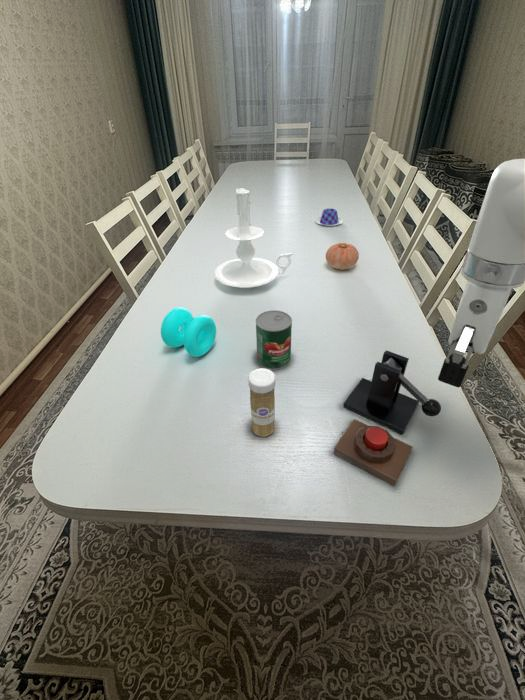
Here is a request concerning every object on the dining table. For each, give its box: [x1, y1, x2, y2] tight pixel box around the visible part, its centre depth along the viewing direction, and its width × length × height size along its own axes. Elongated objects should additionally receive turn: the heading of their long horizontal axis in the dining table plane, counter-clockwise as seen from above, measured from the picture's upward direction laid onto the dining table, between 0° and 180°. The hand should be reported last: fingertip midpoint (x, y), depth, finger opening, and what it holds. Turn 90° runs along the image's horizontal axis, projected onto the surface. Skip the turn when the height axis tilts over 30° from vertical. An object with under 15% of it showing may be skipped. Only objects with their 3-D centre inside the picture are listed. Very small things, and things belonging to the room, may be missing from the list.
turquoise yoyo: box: [160, 306, 217, 358], centre depth 85 cm, size 10×10×10 cm
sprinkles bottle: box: [248, 367, 276, 438], centre depth 64 cm, size 5×5×13 cm
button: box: [364, 427, 388, 451], centre depth 61 cm, size 4×4×2 cm
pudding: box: [314, 208, 344, 227], centre depth 154 cm, size 12×12×5 cm
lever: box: [383, 358, 442, 418], centre depth 65 cm, size 13×3×3 cm
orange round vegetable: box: [325, 242, 360, 271], centre depth 119 cm, size 11×11×8 cm
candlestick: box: [213, 187, 293, 289], centre depth 107 cm, size 21×25×28 cm
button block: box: [333, 418, 413, 487], centre depth 62 cm, size 11×8×4 cm
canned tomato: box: [255, 310, 293, 371], centre depth 81 cm, size 8×8×11 cm
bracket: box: [343, 349, 420, 435], centre depth 68 cm, size 12×9×12 cm
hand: (456, 365), depth 57 cm, fingers open, 9 cm apart
